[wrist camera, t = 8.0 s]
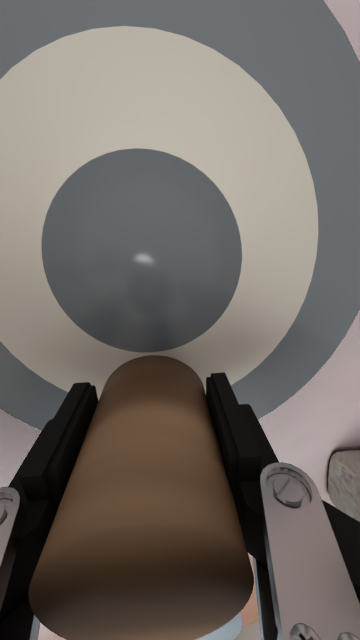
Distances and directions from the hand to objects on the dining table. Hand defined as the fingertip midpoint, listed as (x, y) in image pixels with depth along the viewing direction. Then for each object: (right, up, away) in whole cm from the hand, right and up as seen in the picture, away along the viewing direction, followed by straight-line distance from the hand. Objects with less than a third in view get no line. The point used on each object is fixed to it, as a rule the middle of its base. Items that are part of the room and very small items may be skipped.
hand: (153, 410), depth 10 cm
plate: (0, +6, +1) cm, 6 cm away
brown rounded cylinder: (0, 0, +1) cm, 1 cm away
